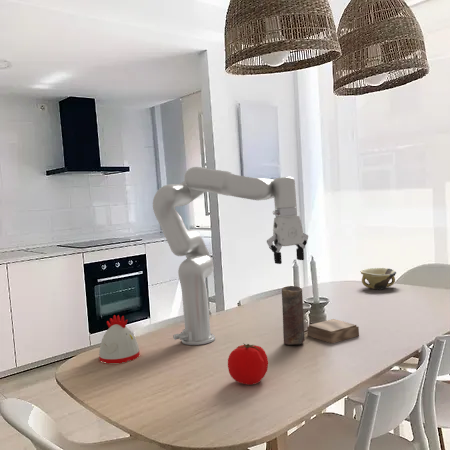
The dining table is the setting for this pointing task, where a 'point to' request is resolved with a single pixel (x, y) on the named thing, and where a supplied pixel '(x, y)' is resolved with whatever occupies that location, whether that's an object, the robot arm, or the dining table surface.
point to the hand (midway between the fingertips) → (289, 261)
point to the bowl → (378, 277)
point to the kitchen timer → (118, 343)
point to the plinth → (332, 330)
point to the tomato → (248, 364)
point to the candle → (293, 315)
